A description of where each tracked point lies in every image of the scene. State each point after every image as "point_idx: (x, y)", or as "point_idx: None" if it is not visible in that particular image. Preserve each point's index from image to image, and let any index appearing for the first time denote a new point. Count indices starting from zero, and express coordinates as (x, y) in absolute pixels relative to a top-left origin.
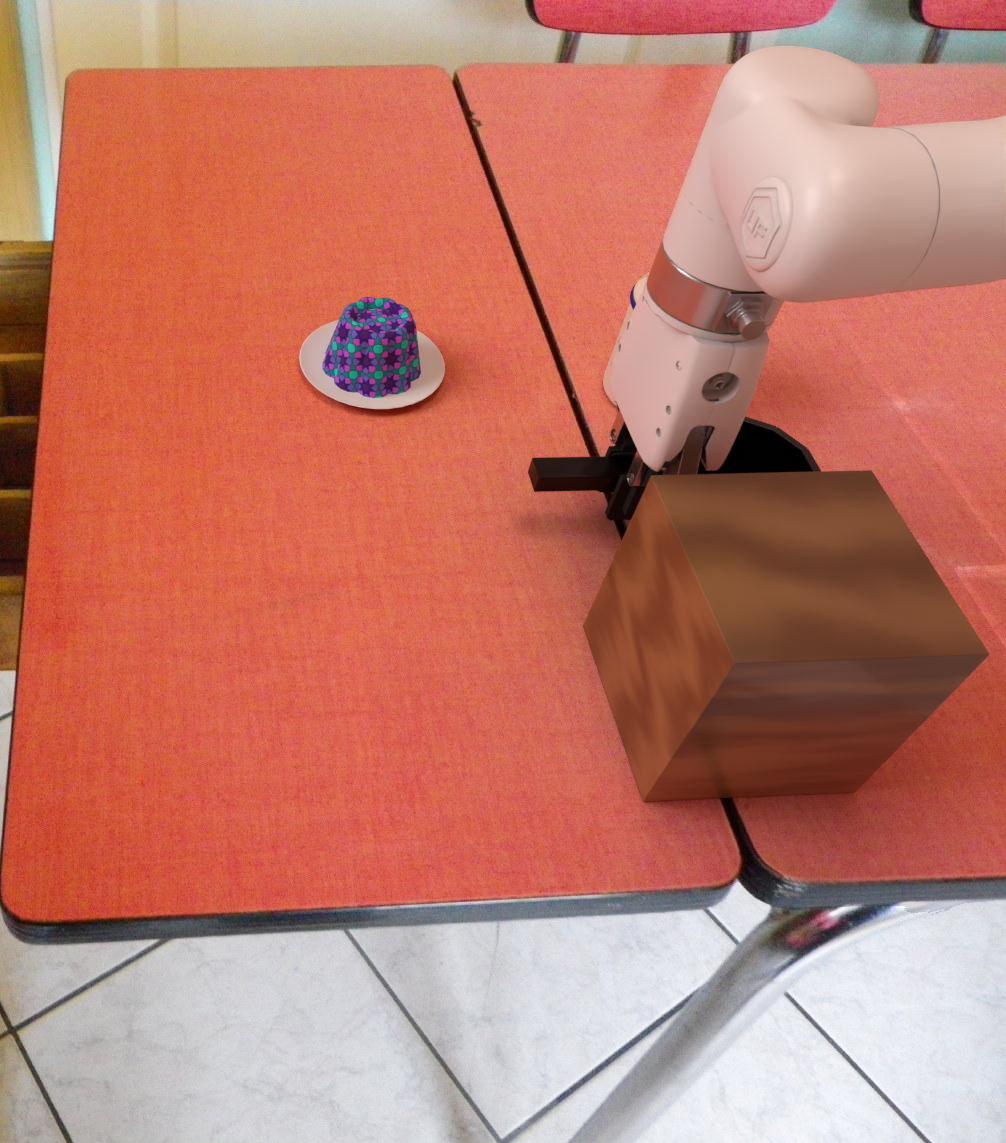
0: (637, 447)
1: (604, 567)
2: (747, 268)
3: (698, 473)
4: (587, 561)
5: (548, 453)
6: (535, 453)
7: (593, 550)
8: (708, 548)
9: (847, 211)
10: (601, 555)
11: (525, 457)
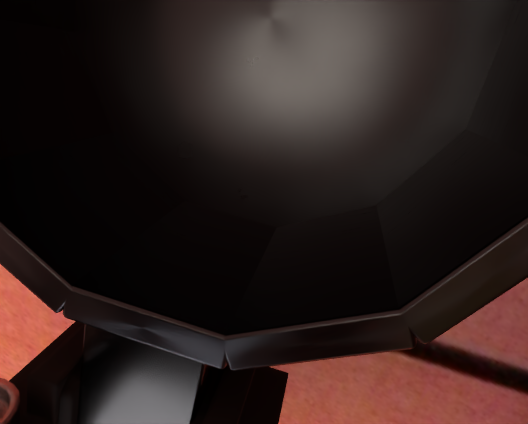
0: None
1: (344, 392)
2: None
3: (115, 13)
4: (317, 412)
5: (8, 308)
6: (7, 332)
7: (291, 384)
8: None
9: None
10: (310, 378)
11: (17, 355)
